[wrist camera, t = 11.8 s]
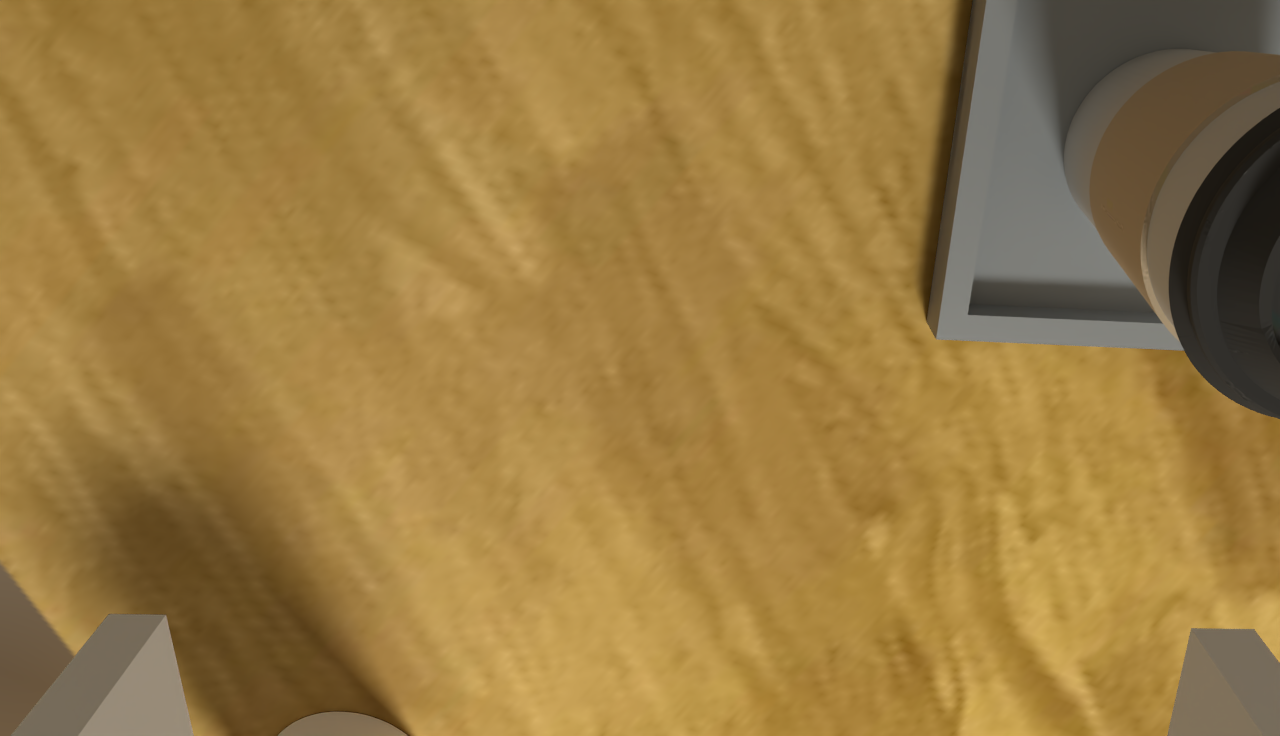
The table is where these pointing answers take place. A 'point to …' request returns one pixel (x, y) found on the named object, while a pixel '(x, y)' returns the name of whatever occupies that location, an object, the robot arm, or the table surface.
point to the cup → (340, 726)
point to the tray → (1053, 167)
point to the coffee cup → (1193, 203)
